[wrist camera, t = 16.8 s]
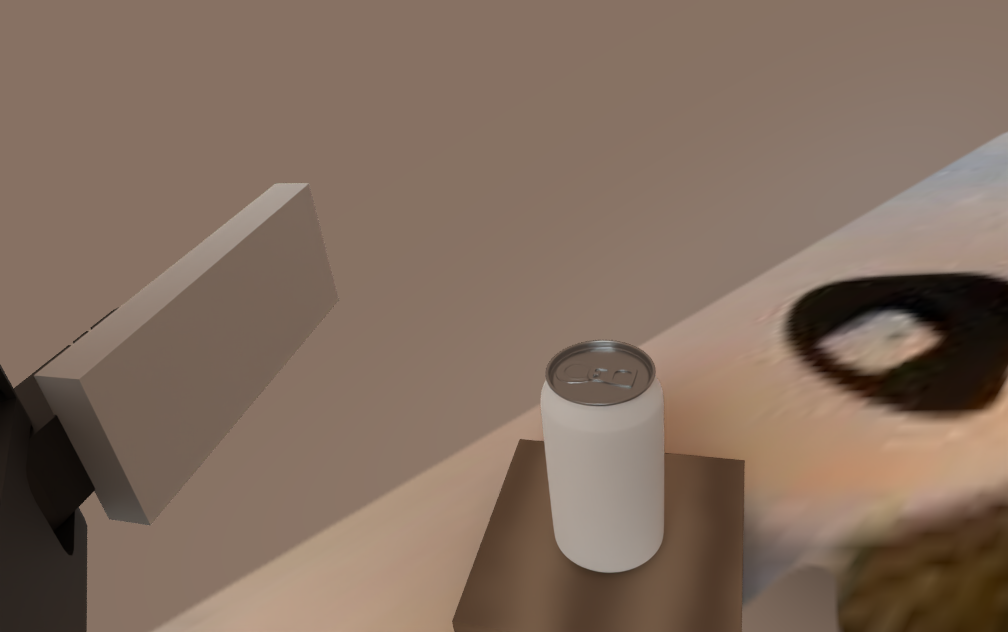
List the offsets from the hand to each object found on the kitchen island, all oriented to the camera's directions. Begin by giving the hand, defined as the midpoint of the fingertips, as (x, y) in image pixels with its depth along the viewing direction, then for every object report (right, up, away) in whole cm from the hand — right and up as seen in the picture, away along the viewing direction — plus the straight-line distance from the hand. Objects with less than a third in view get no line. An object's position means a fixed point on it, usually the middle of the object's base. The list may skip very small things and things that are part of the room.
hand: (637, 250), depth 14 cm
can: (+4, -14, +32) cm, 35 cm away
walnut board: (+4, -17, +33) cm, 38 cm away
